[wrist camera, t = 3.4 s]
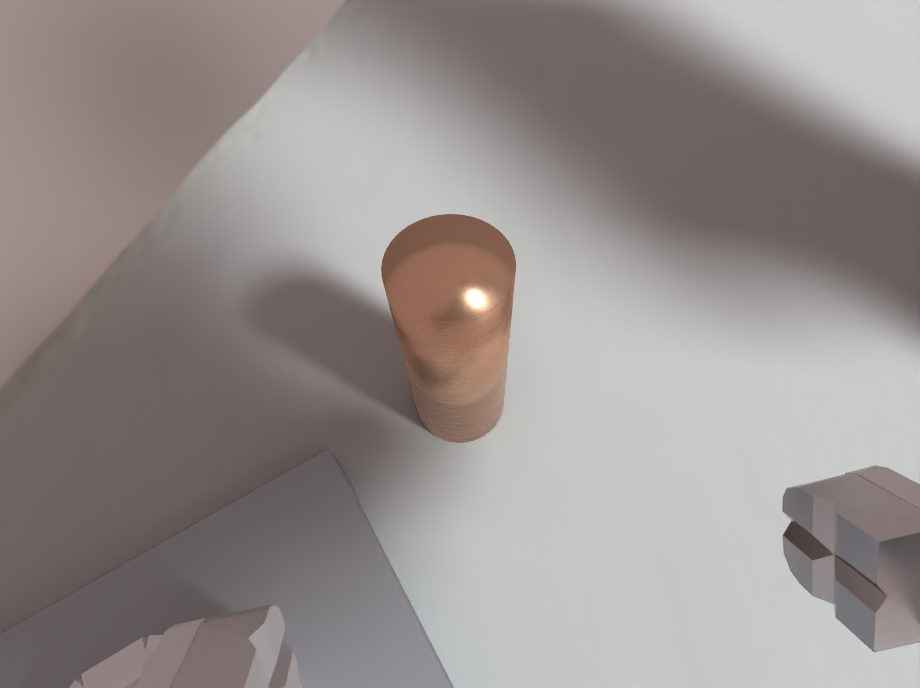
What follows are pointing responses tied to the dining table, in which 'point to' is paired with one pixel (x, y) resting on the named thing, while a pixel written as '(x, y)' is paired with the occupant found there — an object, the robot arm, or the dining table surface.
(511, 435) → the dining table surface
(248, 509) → the collar plate
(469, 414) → the copper tube
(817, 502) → the robot arm
